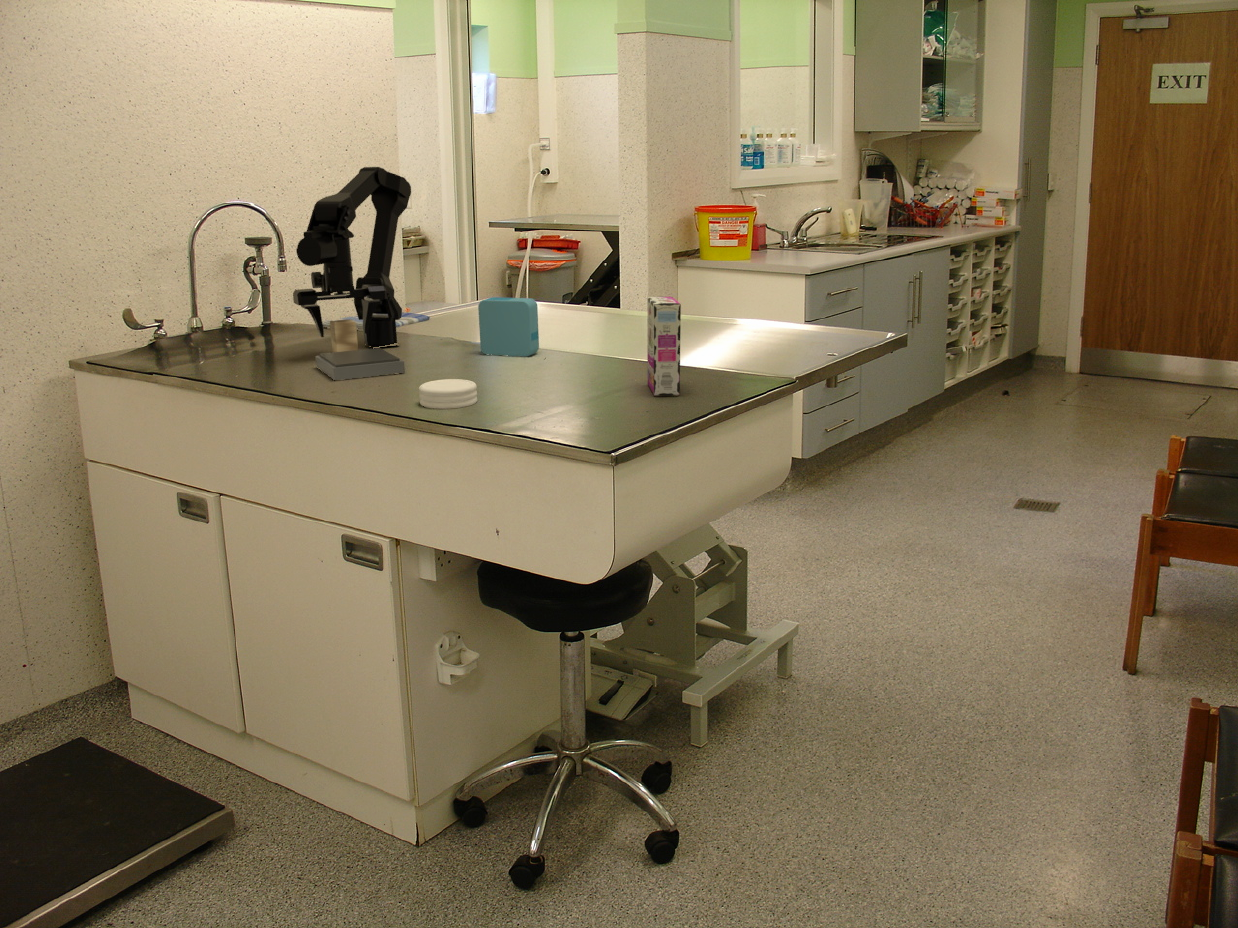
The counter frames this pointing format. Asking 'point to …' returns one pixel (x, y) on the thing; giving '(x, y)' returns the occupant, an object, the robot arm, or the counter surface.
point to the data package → (508, 326)
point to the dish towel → (404, 320)
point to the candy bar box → (664, 345)
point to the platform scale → (359, 363)
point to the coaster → (448, 394)
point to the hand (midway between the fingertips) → (343, 335)
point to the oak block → (343, 335)
